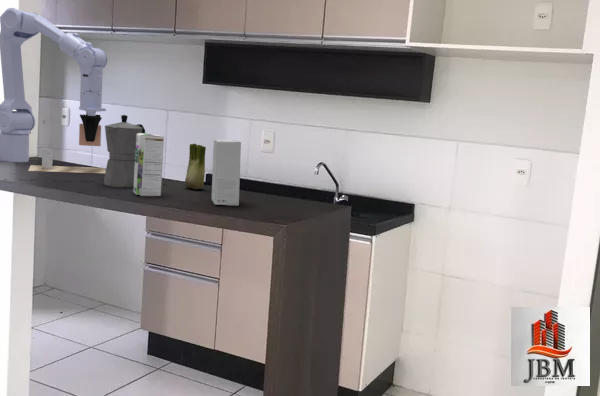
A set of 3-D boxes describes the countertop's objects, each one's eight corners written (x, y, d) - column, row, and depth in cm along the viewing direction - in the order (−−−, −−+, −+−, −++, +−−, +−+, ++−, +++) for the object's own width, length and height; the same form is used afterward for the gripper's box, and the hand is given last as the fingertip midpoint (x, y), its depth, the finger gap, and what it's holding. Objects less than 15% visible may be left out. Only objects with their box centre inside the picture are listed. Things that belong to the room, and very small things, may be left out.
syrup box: (132, 192, 150) (134, 132, 148) (157, 192, 153) (159, 133, 151) (136, 196, 145) (139, 134, 143) (162, 196, 148) (164, 135, 146)
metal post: (41, 168, 170) (42, 148, 169) (42, 167, 173) (42, 148, 172) (52, 169, 171) (52, 149, 170) (52, 168, 174) (52, 148, 173)
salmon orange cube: (79, 145, 171) (79, 124, 170) (78, 143, 176) (79, 123, 175) (100, 146, 173) (101, 126, 172) (99, 144, 178) (100, 124, 177)
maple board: (28, 174, 165) (28, 170, 165) (30, 168, 176) (30, 165, 176) (106, 176, 172) (106, 173, 172) (104, 171, 183) (104, 167, 183)
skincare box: (239, 206, 143) (243, 142, 141) (212, 205, 142) (216, 140, 139) (234, 200, 151) (238, 139, 149) (209, 199, 150) (213, 137, 147)
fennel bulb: (206, 191, 162) (208, 145, 160) (187, 190, 160) (189, 144, 158) (200, 187, 167) (203, 143, 165) (182, 187, 165) (184, 142, 163)
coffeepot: (121, 189, 153) (123, 116, 150) (89, 185, 156) (91, 113, 153) (156, 183, 167) (159, 116, 164) (127, 179, 170) (130, 113, 168)
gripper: (107, 93, 167) (106, 143, 169) (104, 92, 181) (103, 139, 183) (80, 91, 165) (78, 142, 167) (79, 90, 178) (77, 137, 180)
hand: (89, 140), depth 175 cm, fingers closed on salmon orange cube, 6 cm apart
